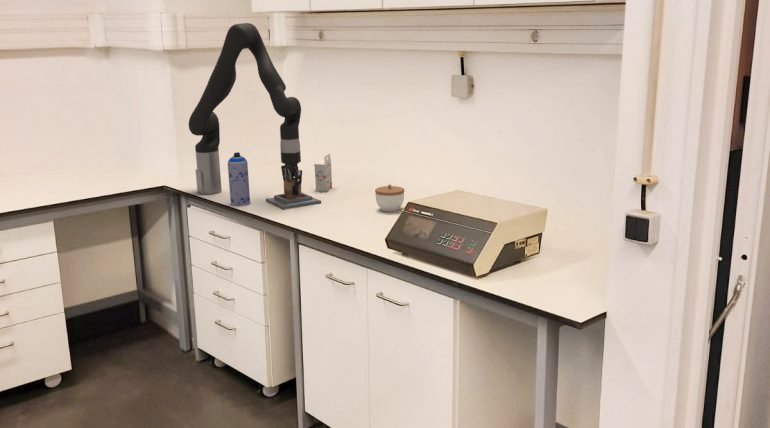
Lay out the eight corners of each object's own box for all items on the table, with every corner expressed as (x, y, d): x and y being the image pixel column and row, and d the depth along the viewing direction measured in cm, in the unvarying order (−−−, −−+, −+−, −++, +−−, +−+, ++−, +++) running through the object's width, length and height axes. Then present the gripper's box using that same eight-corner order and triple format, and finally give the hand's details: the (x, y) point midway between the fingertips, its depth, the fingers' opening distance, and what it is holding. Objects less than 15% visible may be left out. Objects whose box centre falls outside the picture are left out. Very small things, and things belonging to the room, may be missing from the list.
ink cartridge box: (321, 187, 302) (319, 152, 299) (332, 187, 301) (331, 153, 298) (315, 191, 294) (313, 156, 290) (326, 192, 293) (325, 156, 289)
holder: (283, 209, 267) (282, 203, 266) (265, 201, 280) (265, 195, 279) (321, 203, 275) (320, 196, 275) (302, 195, 288) (302, 189, 288)
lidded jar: (398, 214, 257) (397, 189, 255) (370, 211, 261) (370, 186, 259) (408, 207, 267) (408, 182, 264) (382, 205, 271) (381, 180, 269)
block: (289, 198, 274) (289, 183, 272) (284, 195, 278) (283, 180, 276) (301, 196, 276) (300, 181, 275) (295, 194, 280) (295, 179, 279)
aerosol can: (239, 200, 282) (235, 150, 277) (254, 202, 278) (251, 151, 273) (225, 205, 275) (221, 153, 270) (241, 207, 271) (237, 155, 266)
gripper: (273, 148, 276) (276, 191, 281) (289, 154, 265) (292, 198, 269) (291, 146, 280) (293, 189, 284) (307, 151, 268) (309, 195, 273)
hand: (292, 193), depth 277 cm, fingers closed on block, 4 cm apart
